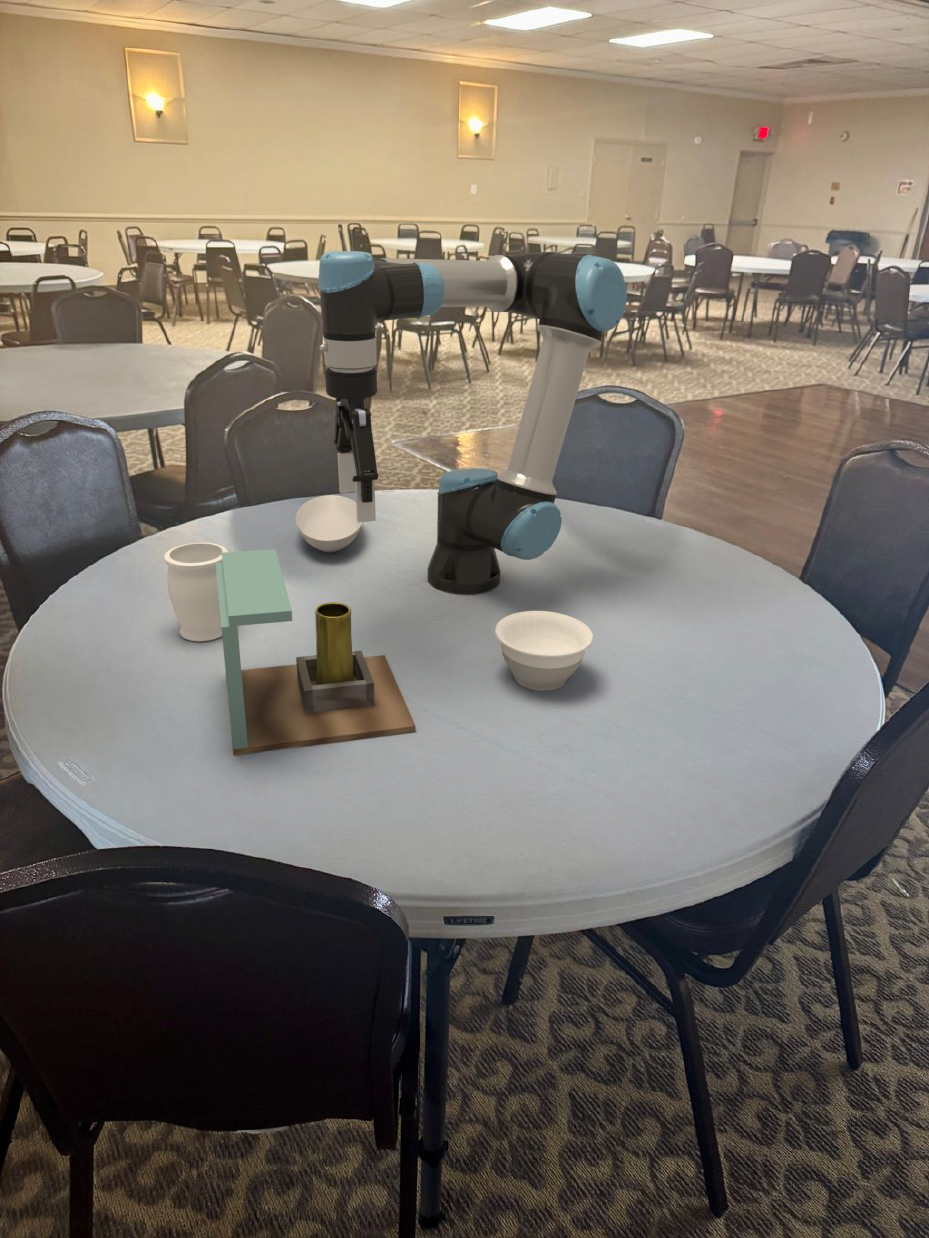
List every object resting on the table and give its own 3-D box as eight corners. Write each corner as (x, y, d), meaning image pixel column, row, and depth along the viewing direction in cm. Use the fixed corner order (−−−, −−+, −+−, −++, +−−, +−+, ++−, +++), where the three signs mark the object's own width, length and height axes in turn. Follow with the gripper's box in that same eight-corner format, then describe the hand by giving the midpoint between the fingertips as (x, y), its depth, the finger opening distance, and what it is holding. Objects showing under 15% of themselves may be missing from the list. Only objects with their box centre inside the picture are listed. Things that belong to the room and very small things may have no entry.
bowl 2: (523, 711, 131) (527, 663, 127) (475, 664, 143) (477, 619, 139) (607, 690, 137) (613, 644, 134) (553, 647, 150) (558, 604, 146)
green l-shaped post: (282, 665, 138) (275, 549, 129) (298, 740, 119) (291, 610, 110) (225, 671, 135) (214, 553, 126) (233, 749, 117) (220, 616, 108)
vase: (338, 706, 128) (336, 622, 121) (306, 693, 130) (303, 611, 124) (362, 689, 132) (362, 607, 126) (331, 677, 135) (330, 597, 129)
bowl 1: (364, 567, 179) (364, 540, 176) (292, 567, 177) (291, 540, 174) (363, 519, 205) (363, 495, 203) (301, 519, 203) (300, 494, 201)
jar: (218, 649, 144) (210, 568, 137) (162, 641, 146) (151, 560, 139) (244, 622, 153) (238, 545, 147) (192, 615, 155) (183, 538, 148)
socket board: (384, 660, 143) (384, 634, 141) (415, 731, 124) (415, 702, 122) (226, 676, 136) (223, 649, 134) (233, 755, 117) (230, 725, 115)
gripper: (310, 353, 132) (319, 483, 142) (341, 387, 111) (349, 537, 121) (357, 351, 134) (363, 479, 144) (397, 384, 113) (400, 531, 123)
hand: (356, 505), depth 132 cm, fingers open, 13 cm apart
